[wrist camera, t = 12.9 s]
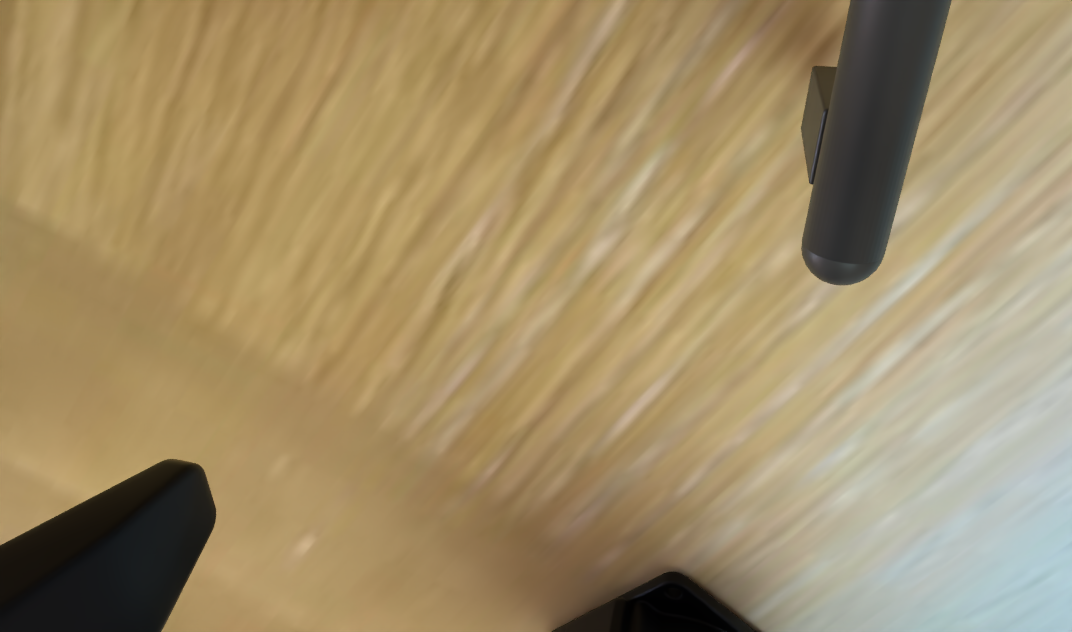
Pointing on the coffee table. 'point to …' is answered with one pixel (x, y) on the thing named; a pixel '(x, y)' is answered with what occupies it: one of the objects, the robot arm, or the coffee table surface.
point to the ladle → (865, 132)
